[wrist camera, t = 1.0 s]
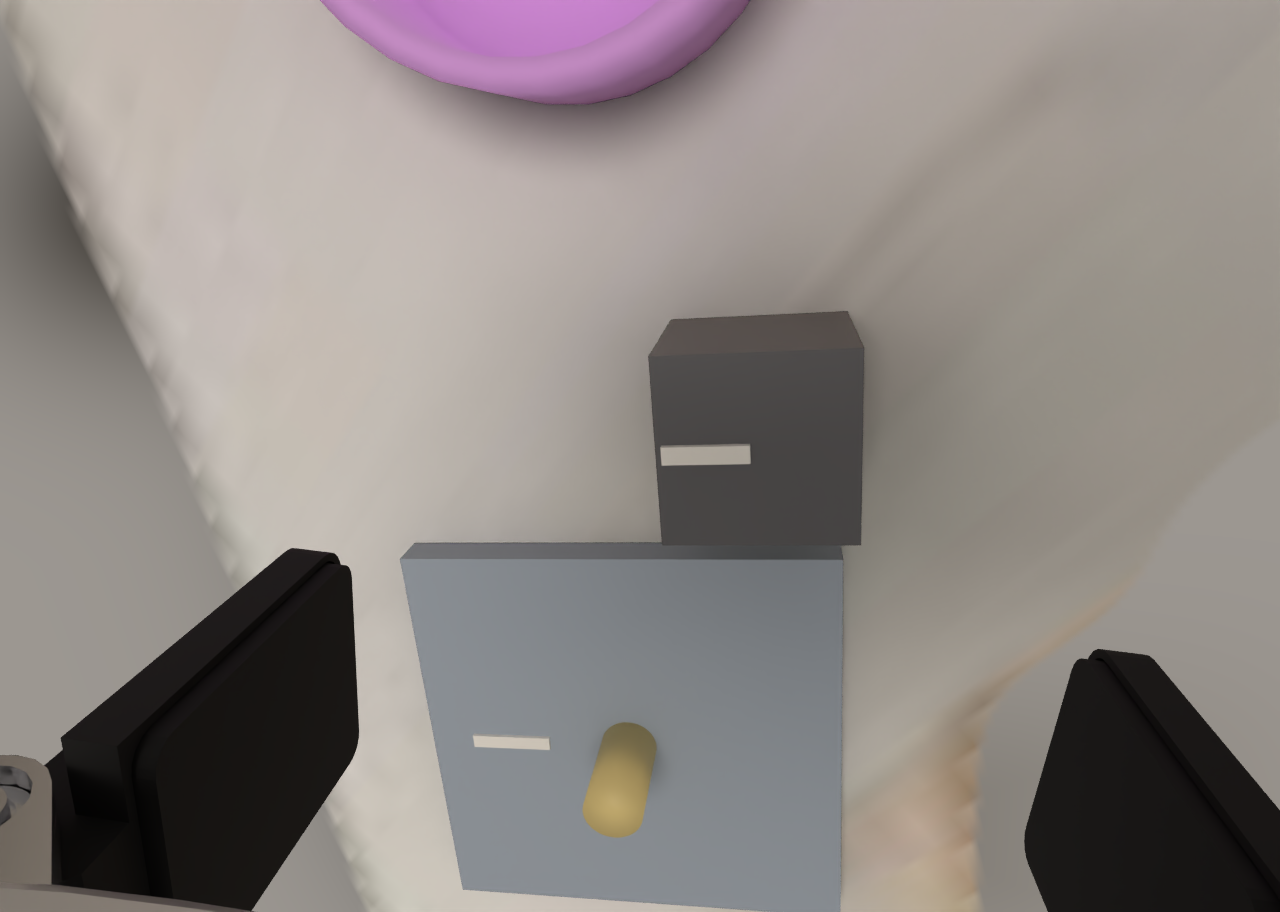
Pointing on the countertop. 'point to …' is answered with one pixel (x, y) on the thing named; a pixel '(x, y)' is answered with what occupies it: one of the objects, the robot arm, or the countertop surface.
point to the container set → (542, 42)
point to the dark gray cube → (759, 430)
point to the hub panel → (637, 718)
